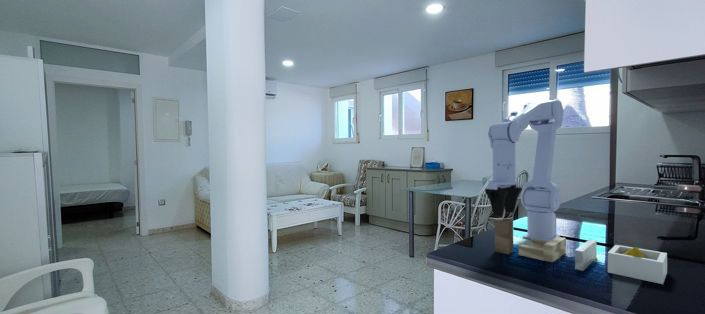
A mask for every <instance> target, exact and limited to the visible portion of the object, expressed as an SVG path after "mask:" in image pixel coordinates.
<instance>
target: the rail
mask: <svg viewBox="0 0 705 314" xmlns="http://www.w3.org/2000/svg"><path fill="white" fill-rule="evenodd" d="M597 252H598V251H597V240H595V239H588V240H586V241H585V242H584V243H583V244H581V245H580V246H579V247H577V248H576V249H575V250H574V265H575V266H574V270H576V271H580V272H581V271H582V272H584V271H585V270H586V269H587V268H588V267H589V266H590V265H591V264H592V263H593V262H594V261H595V260H596V259H598V258H597V254H598V253H597Z"/></svg>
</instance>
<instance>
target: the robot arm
mask: <svg viewBox="0 0 705 314" xmlns="http://www.w3.org/2000/svg"><path fill="white" fill-rule="evenodd" d="M563 107H564V106H563V103H562V101H560V100H559V98H557V99H552V100H544V101H537V102H527V103H526V104H524V105H523V109H522V110H521V111H512V112H510V115H509V116H507V117H505V118H503V119H502V121H500V122H494V123H493V124H492V125H490V127H489V128H488V129H489V130H488V132H487V134H488V135H487V136H488V139H489V142H490V143H489V144H490V148H491V149H492V179H489V180H488V188H485V189H484V191H485V192H484V193H485V194H486V196H487V197H488V200H489V203H490V206H491V210H492V213H493V216H497V217H503V215H504V212H505V213H515V210H516V206H517V201H518V198H519V197H520V203H521V204H522V206H523V207H524V210H526V211H527V212H526V213H527V214H526V215H527V218H526V219H527V233H526V234H524V235H522V238H525V239H530V240H531V239H533V238H535V239H541V240H546V241H551V240H553V239H554V238H556V237H561V236H560V234H557V216H556V213H555V212H556V211H557V210H558V209H559V208H560V206H561V194H560V193H561V190H560V188H559V186H558V185H557V184H556V183H554V181H552V170H553V162H554V161H553V160H554V152H555V151H554V150H555V142H556V134H557V130H558V129H560V128H561V127H562V123H563V119H564V118H563V117H564V108H563ZM528 127H530V128H531V129H532V130H533V131H537V139H536V141H537V142H536V147H535V148H536V149H535V158H534V165H533V174H532V178H531V179H530V180H528V181H527V182H525V183H524V185H523V188H522V187H519V183H518V181H519V180H518V179H516V142H518V141H519V140H520V137H521V134H522V132H523V131H525V130H526V129H527V128H528Z"/></svg>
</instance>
